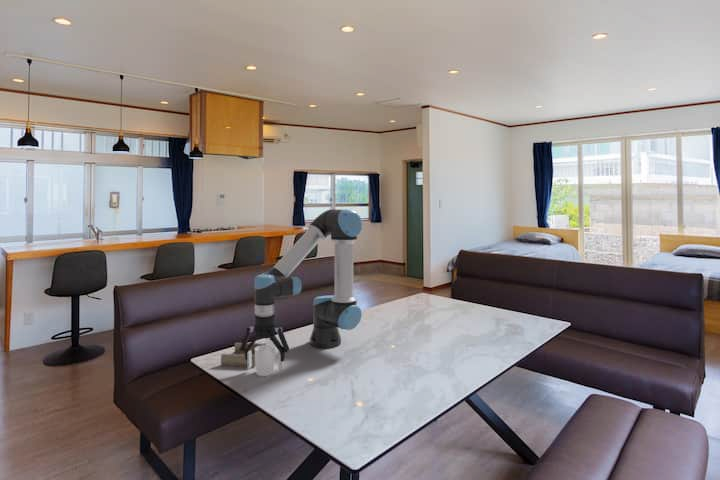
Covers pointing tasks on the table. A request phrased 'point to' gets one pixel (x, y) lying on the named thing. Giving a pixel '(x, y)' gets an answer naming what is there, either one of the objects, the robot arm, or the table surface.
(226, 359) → the port dock
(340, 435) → the table surface
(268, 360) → the white cup
